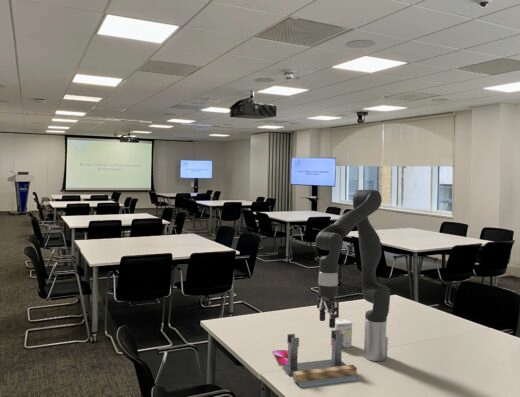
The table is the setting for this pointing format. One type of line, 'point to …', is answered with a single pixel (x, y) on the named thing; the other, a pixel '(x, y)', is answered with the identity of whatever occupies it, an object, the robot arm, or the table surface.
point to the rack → (294, 366)
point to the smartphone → (281, 357)
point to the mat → (327, 381)
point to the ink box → (344, 331)
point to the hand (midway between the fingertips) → (327, 324)
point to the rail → (324, 373)
